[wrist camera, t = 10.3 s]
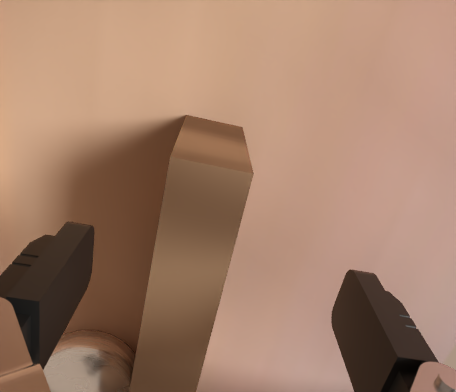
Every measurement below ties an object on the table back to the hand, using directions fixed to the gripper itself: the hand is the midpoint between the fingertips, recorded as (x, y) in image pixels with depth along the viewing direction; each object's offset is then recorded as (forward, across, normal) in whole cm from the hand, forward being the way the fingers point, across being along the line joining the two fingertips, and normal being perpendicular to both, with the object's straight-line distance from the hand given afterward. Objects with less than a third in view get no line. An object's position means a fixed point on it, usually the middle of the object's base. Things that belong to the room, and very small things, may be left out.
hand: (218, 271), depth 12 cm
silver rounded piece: (+6, +5, +11) cm, 14 cm away
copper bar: (+6, +1, +6) cm, 8 cm away
